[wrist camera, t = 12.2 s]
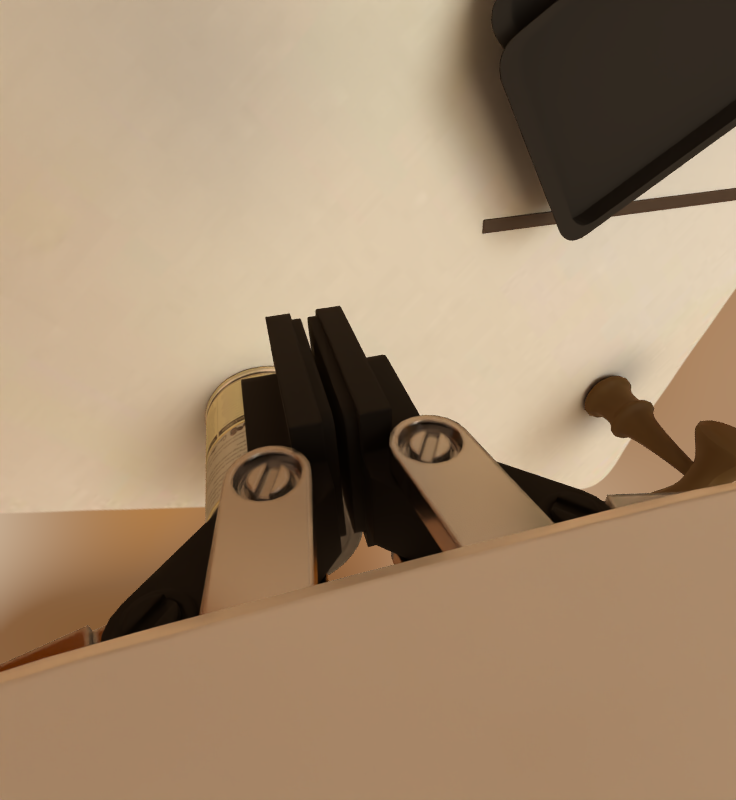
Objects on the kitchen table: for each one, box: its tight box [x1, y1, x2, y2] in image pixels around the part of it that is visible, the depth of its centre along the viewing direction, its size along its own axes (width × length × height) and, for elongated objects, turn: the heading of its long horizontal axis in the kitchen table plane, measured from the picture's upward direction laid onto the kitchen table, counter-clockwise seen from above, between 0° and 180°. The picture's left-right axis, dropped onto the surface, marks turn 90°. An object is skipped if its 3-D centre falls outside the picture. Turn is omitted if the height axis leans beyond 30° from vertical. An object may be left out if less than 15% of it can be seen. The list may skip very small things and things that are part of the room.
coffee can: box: [205, 367, 362, 575], centre depth 37 cm, size 10×10×14 cm
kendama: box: [585, 376, 736, 493], centre depth 44 cm, size 6×10×20 cm, turn 164°
